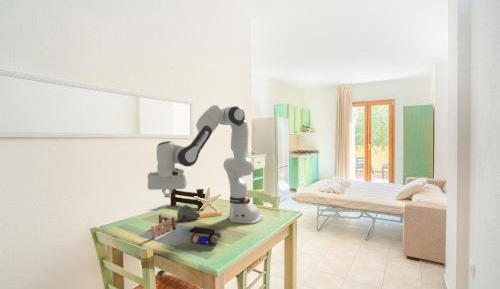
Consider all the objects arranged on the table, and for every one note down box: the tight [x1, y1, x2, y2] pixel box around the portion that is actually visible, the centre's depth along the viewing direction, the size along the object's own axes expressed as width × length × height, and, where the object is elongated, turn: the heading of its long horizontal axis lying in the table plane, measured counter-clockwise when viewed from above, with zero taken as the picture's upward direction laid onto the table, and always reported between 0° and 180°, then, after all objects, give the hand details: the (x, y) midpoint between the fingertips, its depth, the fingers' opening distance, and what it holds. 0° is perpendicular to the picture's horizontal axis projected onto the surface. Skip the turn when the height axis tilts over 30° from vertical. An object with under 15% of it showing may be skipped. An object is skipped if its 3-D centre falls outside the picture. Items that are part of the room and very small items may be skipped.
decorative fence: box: [169, 188, 206, 211], centre depth 188 cm, size 34×6×15 cm, turn 63°
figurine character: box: [189, 226, 222, 246], centre depth 127 cm, size 7×8×15 cm
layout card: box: [138, 224, 194, 247], centre depth 140 cm, size 28×22×1 cm
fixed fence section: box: [158, 214, 176, 230], centre depth 147 cm, size 12×2×7 cm, turn 62°
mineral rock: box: [176, 204, 201, 222], centre depth 160 cm, size 13×11×10 cm
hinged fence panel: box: [150, 220, 172, 239], centre depth 138 cm, size 13×2×6 cm, turn 149°
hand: (167, 197), depth 135 cm, fingers closed
